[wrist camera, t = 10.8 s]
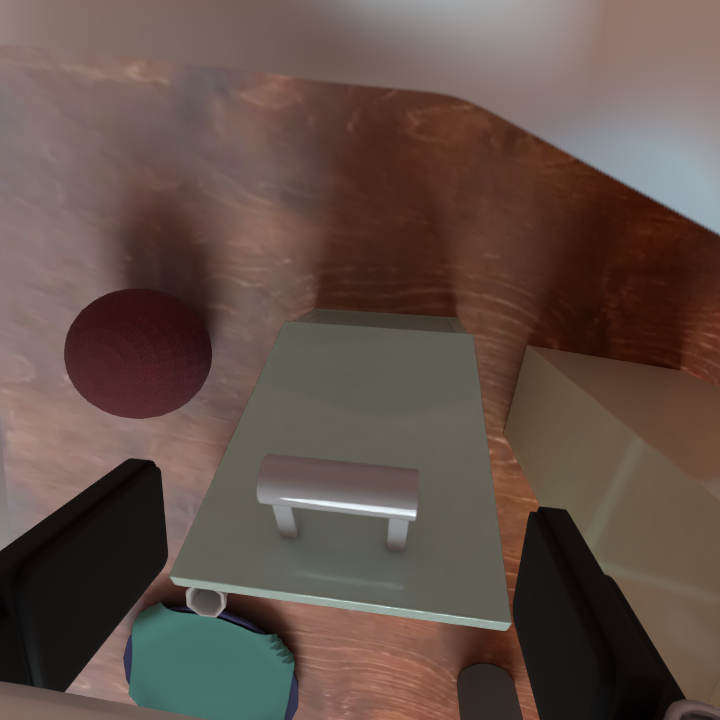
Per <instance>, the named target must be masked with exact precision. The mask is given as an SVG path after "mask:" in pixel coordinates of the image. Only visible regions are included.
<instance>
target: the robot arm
mask: <svg viewBox="0 0 720 720" xmlns="http://www.w3.org/2000/svg"><path fill="white" fill-rule="evenodd" d="M167 558H168V546H167V535H166V523H165V512H164V501H163V489H162V478H161V470H160V469H159V468H158V467H156V465H155V463H154V462H153V461H150V460H142V459H133V458H131V459H128V460H126V461H124V462H123V463H122V464H120V465H119V466H118V467H116V468H115V469H113V470H112V471H111V472H109V473H108V474H106V475H105V476H104V477H102V478H101V479H100V480H98V481H97V482H95V483H94V484H93V485H91V486H90V487H88V488H87V489H86V490H84V491H83V492H81V493H80V494H79V495H77V496H76V497H75V498H73V499H72V500H70V501H69V502H68V503H66V504H65V505H63V506H62V507H61V508H59V509H58V510H57V511H55V512H54V513H52V514H51V515H50V516H48V517H47V518H45V519H44V520H43V521H41V522H40V523H38V524H37V525H36V526H34V527H33V528H32V529H30V530H29V531H27V532H26V533H25V534H23V535H22V536H20V537H19V538H18V539H16V540H15V541H14V542H12V543H11V544H9V545H8V546H7V547H5V548H4V549H3V550H1V551H0V720H209V719H204V718H199V717H193V716H188V715H183V714H178V713H172V712H167V711H162V710H157V709H151V708H146V707H141V706H135V705H130V704H124V703H119V702H113V701H108V700H103V699H97V698H92V697H86V696H81V695H75V694H70V693H64V692H65V691H66V690H67V688H68V687H69V686H70V685H71V683H72V682H73V681H74V680H75V678H76V677H77V676H78V675H79V673H80V672H81V671H82V670H83V668H84V667H85V666H86V665H87V663H88V662H89V661H90V660H91V658H92V657H93V656H94V655H95V653H96V652H97V651H98V650H99V648H100V647H101V646H102V645H103V643H104V642H105V641H106V640H107V638H108V637H109V636H110V634H111V633H112V632H113V631H114V629H115V628H116V627H117V626H118V624H119V623H120V622H121V621H122V619H123V618H124V617H125V616H126V614H127V613H128V612H129V611H130V609H131V608H132V607H133V606H134V604H135V603H136V602H137V601H138V599H139V598H140V597H141V596H142V594H143V593H144V592H145V591H146V589H147V588H148V587H149V586H150V584H151V583H152V582H153V581H154V579H155V578H156V577H157V576H158V574H159V573H160V572H161V571H162V569H163V568H164V566H165V564H166V561H167ZM513 619H514V623H515V627H516V631H517V635H518V639H519V642H520V646H521V650H522V654H523V657H524V661H525V665H526V669H527V673H528V676H529V680H530V684H531V688H532V692H533V695H534V699H535V703H536V707H537V710H538V714H539V718H540V720H720V709H719V708H718V707H716V706H713V705H710V704H707V703H704V702H701V701H698V700H687V699H686V697H685V696H684V694H683V692H682V691H681V689H680V687H679V686H678V684H677V682H676V681H675V679H674V677H673V676H672V674H671V672H670V671H669V669H668V667H667V666H666V664H665V662H664V661H663V659H662V657H661V656H660V654H659V653H658V651H657V649H656V648H655V646H654V644H653V643H652V641H651V639H650V638H649V636H648V634H647V633H646V631H645V629H644V628H643V626H642V624H641V623H640V621H639V619H638V618H637V616H636V614H635V613H634V611H633V609H632V608H631V606H630V604H629V603H628V601H627V600H626V598H625V596H624V595H623V593H622V591H621V590H620V588H619V586H618V585H617V583H616V582H615V581H614V579H613V578H612V577H610V576H609V575H605V574H604V572H603V571H602V569H601V567H600V565H599V564H598V562H597V560H596V559H595V557H594V555H593V553H592V552H591V550H590V548H589V547H588V545H587V543H586V541H585V540H584V538H583V536H582V535H581V533H580V531H579V529H578V528H577V526H576V524H575V523H574V521H573V519H572V517H571V516H570V514H569V512H568V511H567V510H566V509H560V508H551V507H543V506H540V507H539V508H538V510H537V512H530V514H529V517H528V523H527V528H526V534H525V539H524V545H523V550H522V556H521V561H520V567H519V572H518V578H517V583H516V589H515V594H514V600H513Z"/></svg>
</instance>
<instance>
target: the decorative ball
mask: <svg viewBox="0 0 720 720" xmlns="http://www.w3.org/2000/svg"><path fill="white" fill-rule="evenodd" d="M64 360H65V365H66V370H67V372H68V375H69V378H70V380H71V381H72V383H73V385H74V387H75V388H76V389H77V390H78V392H79V393H80V394H81V395H82V396H83V397H84V398H85V399H86V400H87V401H88V402H90V403H91V404H93V405H94V406H96V407H98V408H99V409H101V410H103V411H105V412H107V413H110V414H112V415H116V416H120V417H125V418H135V419H144V418H150V417H157V416H162V415H164V414H167V413H170V412H172V411H174V410H176V409H178V408H180V407H181V406H183V405H184V404H186V403H187V402H189V401H190V400H191V399H192V398H193V397H194V396H195V395H196V394H197V392H198V391H199V390H200V389H201V387H202V386H203V384H204V382H205V380H206V378H207V376H208V374H209V370H210V367H211V361H212V349H211V342H210V338H209V335H208V332H207V330H206V328H205V326H204V324H203V322H202V321H201V319H200V318H199V317H198V315H197V314H196V313H195V312H194V311H193V310H192V309H191V308H190V307H189V306H188V305H187V304H185V303H184V302H182V301H181V300H179V299H178V298H175V297H173V296H171V295H168V294H166V293H163V292H161V291H156V290H151V289H124V290H120V291H115V292H112V293H109V294H106V295H104V296H102V297H100V298H98V299H96V300H95V301H93V302H92V303H91V304H89V305H88V306H87V307H86V308H84V309H83V310H82V311H81V312H80V314H79V315H78V316H77V318H76V319H75V320H74V322H73V323H72V325H71V327H70V329H69V331H68V334H67V337H66V342H65V349H64Z"/></svg>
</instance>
